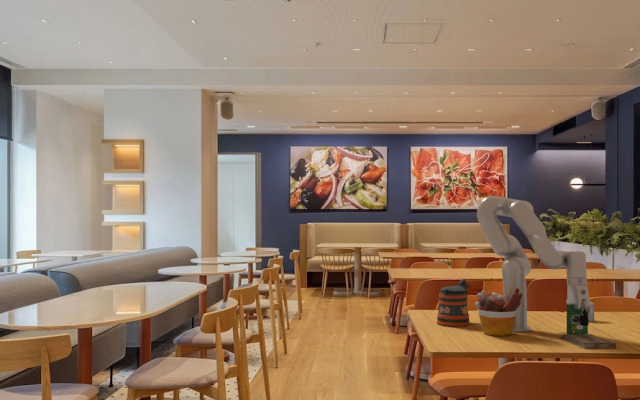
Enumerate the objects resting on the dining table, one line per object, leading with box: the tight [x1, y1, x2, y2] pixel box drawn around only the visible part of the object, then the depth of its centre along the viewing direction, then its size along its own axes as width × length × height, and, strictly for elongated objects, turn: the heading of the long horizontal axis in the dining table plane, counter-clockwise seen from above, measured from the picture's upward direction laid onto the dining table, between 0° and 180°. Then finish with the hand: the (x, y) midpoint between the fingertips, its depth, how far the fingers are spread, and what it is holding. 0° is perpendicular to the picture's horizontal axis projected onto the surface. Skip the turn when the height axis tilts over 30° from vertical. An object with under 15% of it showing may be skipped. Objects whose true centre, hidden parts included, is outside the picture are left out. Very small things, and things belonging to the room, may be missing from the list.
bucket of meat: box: [474, 288, 523, 337], centre depth 235 cm, size 20×16×20 cm
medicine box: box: [588, 301, 595, 322], centre depth 266 cm, size 8×4×9 cm, turn 84°
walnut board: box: [561, 333, 617, 350], centre depth 217 cm, size 12×18×2 cm, turn 2°
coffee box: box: [566, 303, 589, 334], centre depth 230 cm, size 8×3×13 cm, turn 93°
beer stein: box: [436, 278, 470, 328], centre depth 260 cm, size 19×15×20 cm
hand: (578, 323), depth 230 cm, fingers open, 9 cm apart
